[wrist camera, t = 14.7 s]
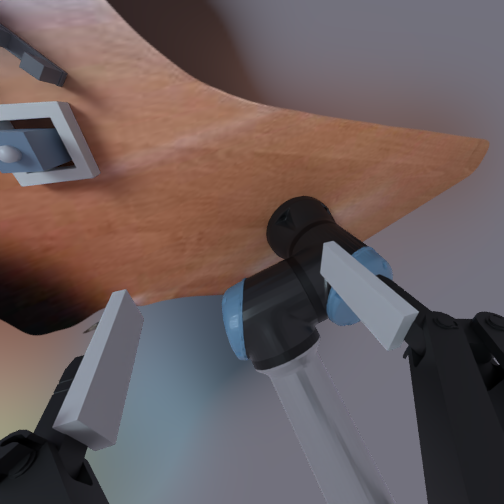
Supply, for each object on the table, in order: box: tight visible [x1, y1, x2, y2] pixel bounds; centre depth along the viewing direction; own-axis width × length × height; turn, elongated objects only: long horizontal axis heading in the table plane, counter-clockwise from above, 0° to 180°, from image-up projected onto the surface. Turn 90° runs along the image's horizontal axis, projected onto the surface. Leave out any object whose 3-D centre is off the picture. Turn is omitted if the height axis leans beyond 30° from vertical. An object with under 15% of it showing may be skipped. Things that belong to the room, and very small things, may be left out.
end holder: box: [0, 101, 100, 186], centre depth 28 cm, size 9×9×3 cm
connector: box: [0, 128, 72, 173], centre depth 25 cm, size 4×4×9 cm
